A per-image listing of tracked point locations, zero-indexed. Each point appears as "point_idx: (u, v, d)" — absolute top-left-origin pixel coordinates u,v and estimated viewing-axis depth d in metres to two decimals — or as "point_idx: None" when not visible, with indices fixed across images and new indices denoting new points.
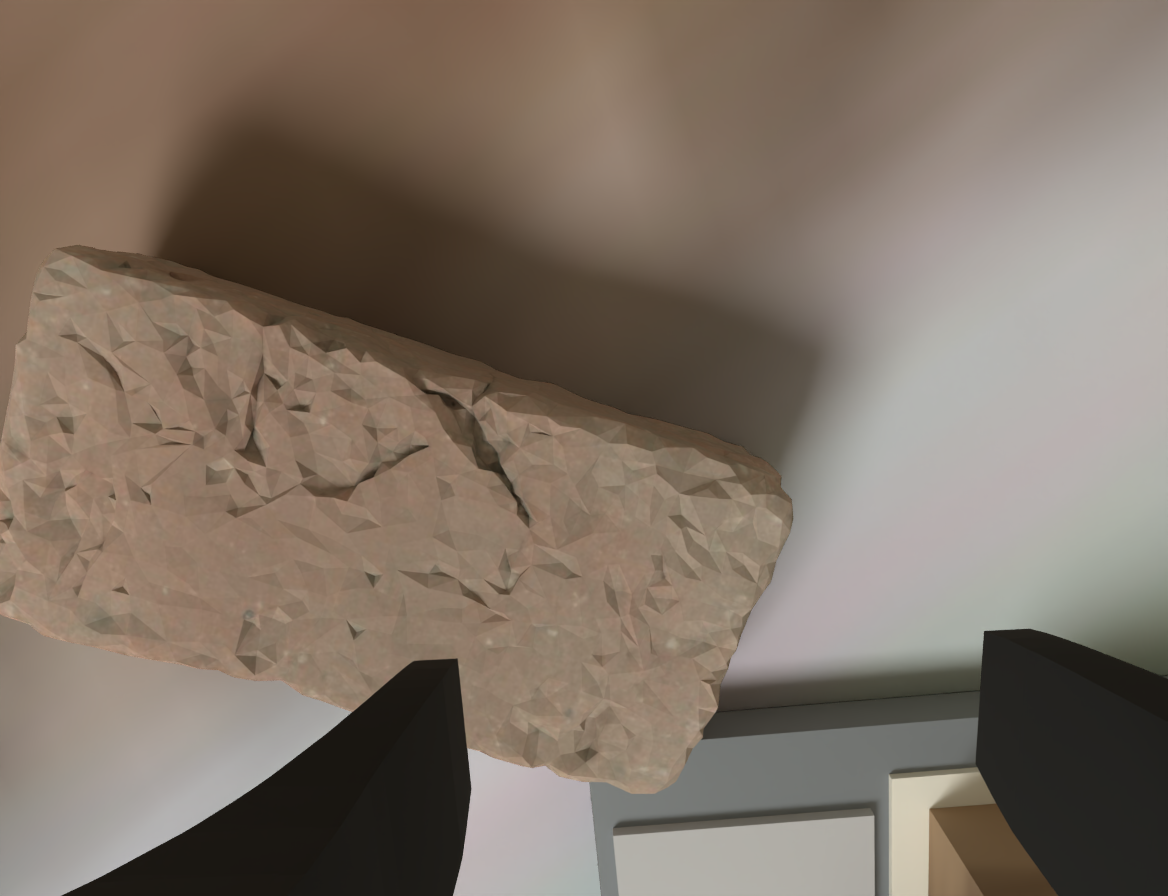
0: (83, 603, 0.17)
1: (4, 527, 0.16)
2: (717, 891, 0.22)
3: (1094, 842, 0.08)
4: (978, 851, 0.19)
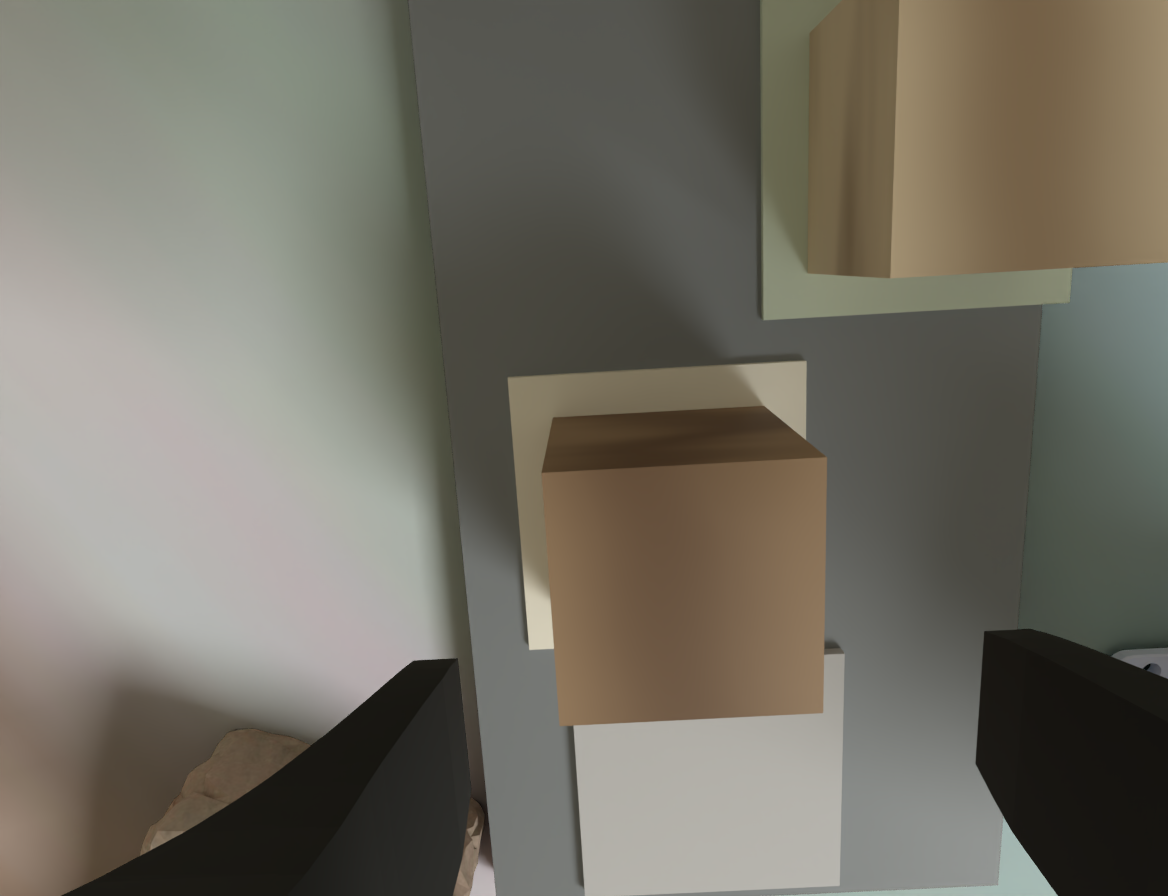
0: None
1: None
2: (655, 809, 0.21)
3: (1094, 842, 0.08)
4: None
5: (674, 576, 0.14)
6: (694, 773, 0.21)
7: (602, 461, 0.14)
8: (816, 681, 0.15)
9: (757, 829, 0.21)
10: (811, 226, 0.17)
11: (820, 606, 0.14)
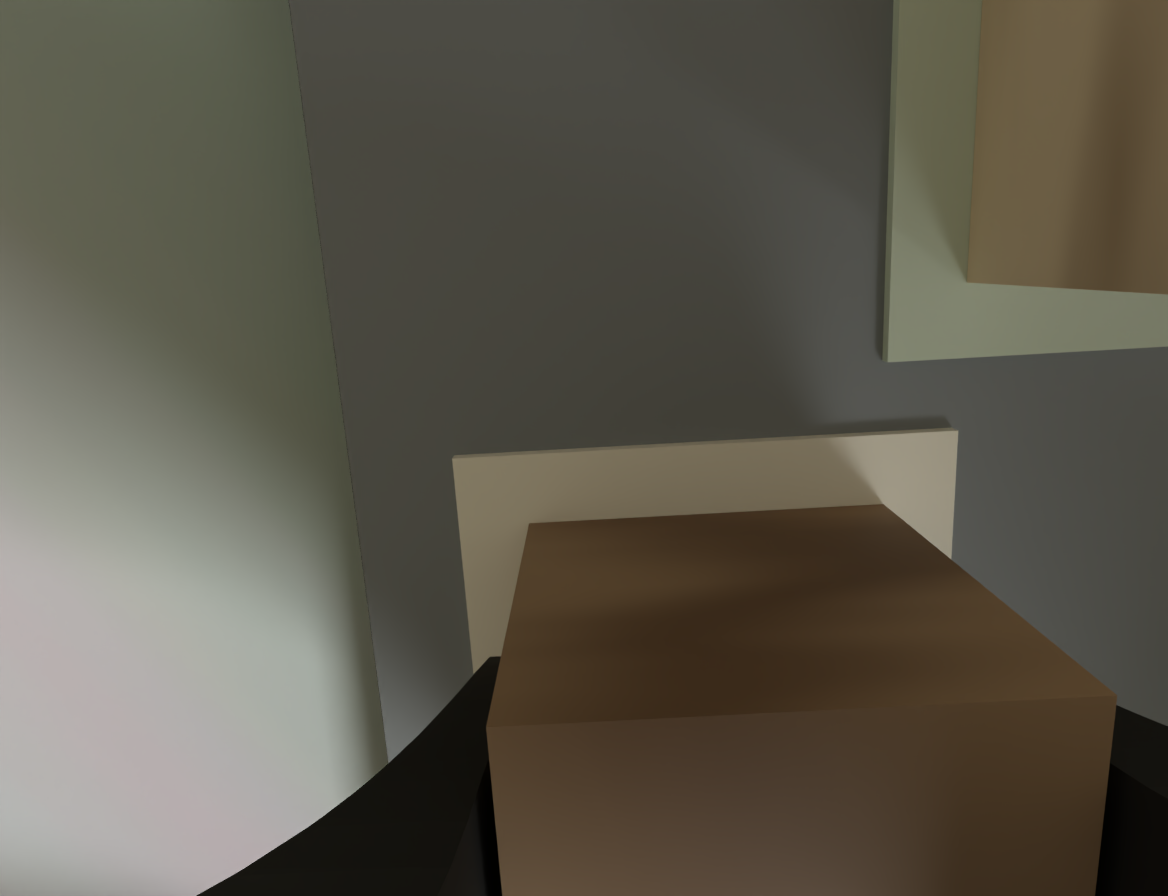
0: None
1: None
2: None
3: None
4: None
5: None
6: None
7: (619, 683, 0.07)
8: None
9: None
10: (980, 199, 0.10)
11: None
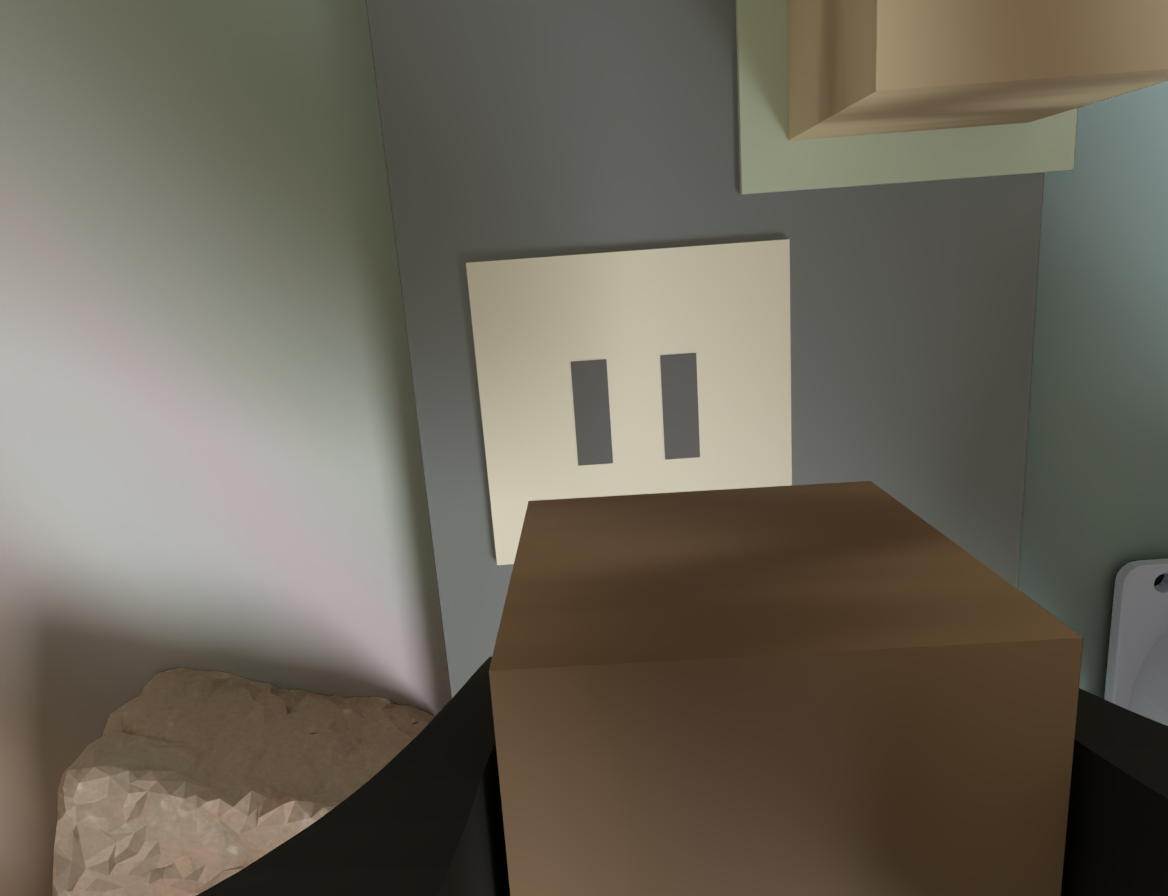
0: None
1: None
2: None
3: None
4: None
5: (760, 867, 0.07)
6: None
7: (615, 634, 0.07)
8: None
9: None
10: (791, 84, 0.16)
11: None
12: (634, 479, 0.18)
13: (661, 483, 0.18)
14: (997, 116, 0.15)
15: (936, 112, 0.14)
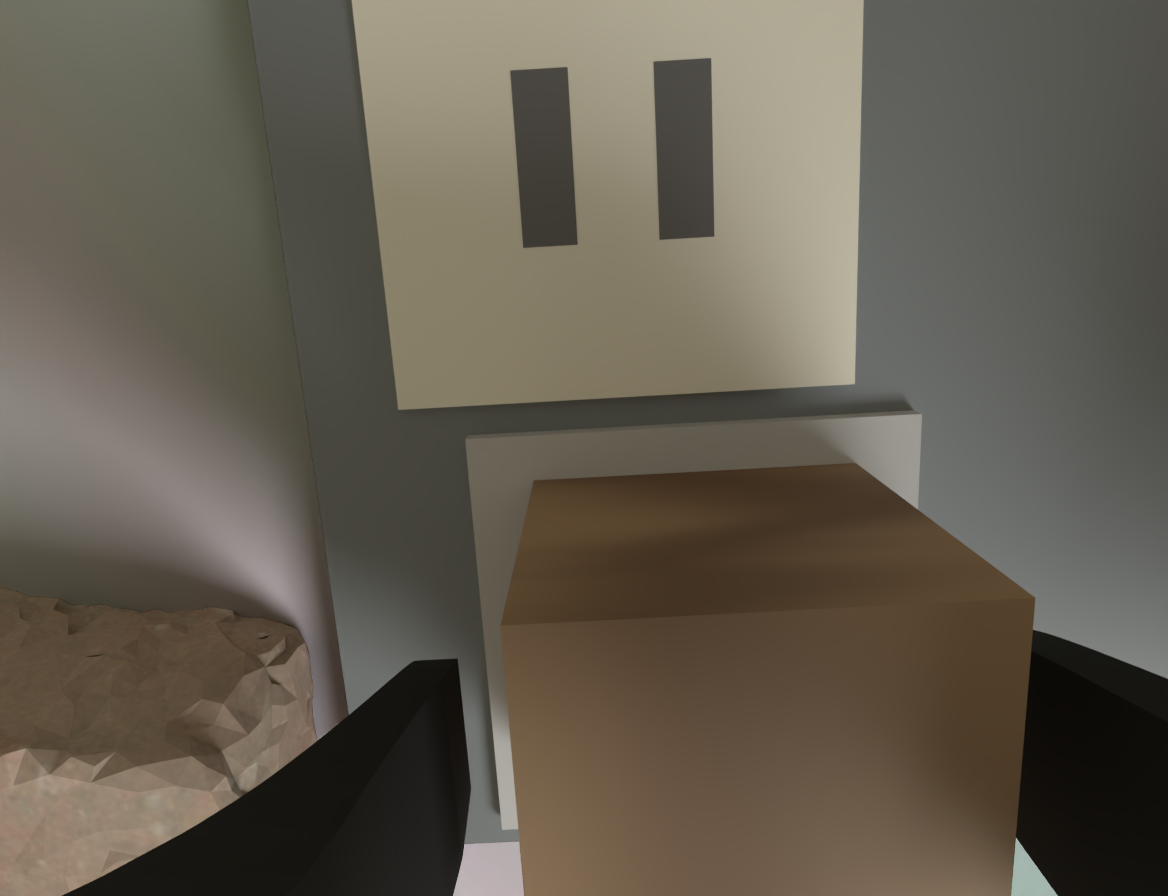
0: None
1: None
2: None
3: (1094, 842, 0.08)
4: None
5: (744, 804, 0.08)
6: None
7: (614, 595, 0.08)
8: None
9: None
10: None
11: (1006, 855, 0.08)
12: (611, 272, 0.12)
13: (653, 280, 0.12)
14: None
15: None
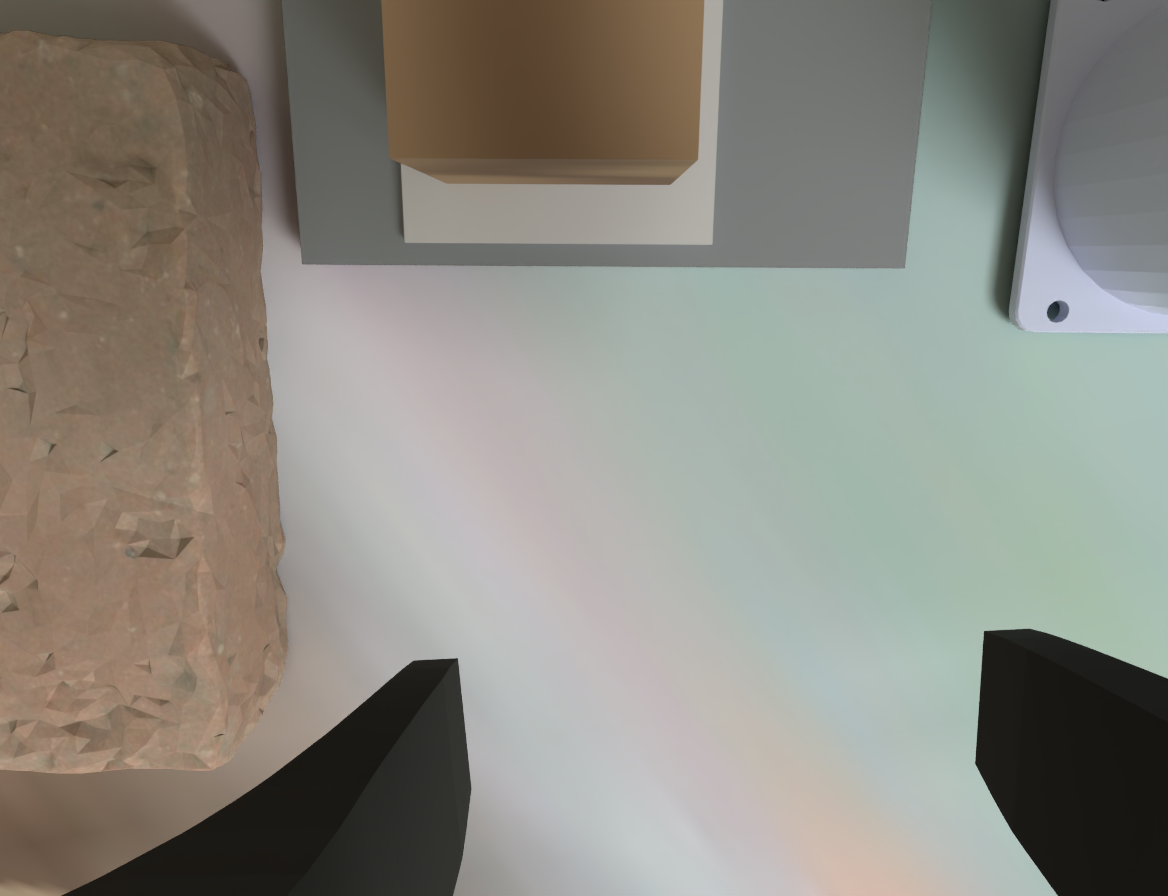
0: (173, 695, 0.18)
1: (128, 764, 0.18)
2: None
3: (1094, 843, 0.08)
4: None
5: None
6: None
7: None
8: (691, 113, 0.12)
9: None
10: None
11: (699, 10, 0.12)
12: None
13: None
14: None
15: None
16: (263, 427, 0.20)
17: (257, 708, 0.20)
